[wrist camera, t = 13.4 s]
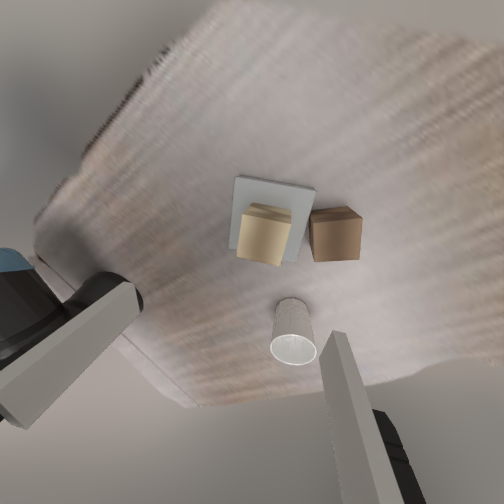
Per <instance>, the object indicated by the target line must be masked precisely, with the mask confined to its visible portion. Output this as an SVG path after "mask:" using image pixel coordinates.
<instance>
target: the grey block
mask: <svg viewBox="0 0 504 504" xmlns="http://www.w3.org/2000/svg"><path fill="white" fill-rule="evenodd" d="M316 192H317V191H316V190H315V189H314V188H311V187H305V186H299V185H293V184H288V183H282V182H276V181H271V180H265V179H259V178H254V177H248V176H242V175H240V176H236V177H235V184H234V195H233V205H232V216H231V226H230V237H229V247H228V248H229V249H234V250H237V249H238V242H239V234H240V227H241V220H242V214H243V213H244V211H245V210H246V209H247V208H248V207H249V206H250V205H251V203H252V202H253V203H258V204H263V205H268V206H273V207H278V208H283V209H288V210H291V228H290V231H289V235H288V239H287V242H286V246H285V250H284V253H283V257H282V260H285V261H289V262H294V263H295V262H296V259H297V255H298V252H299V249H300V245H301V242H302V239H303V235H304V232H305V229H306V225H307V222H308V218H309V215H310V212H311V208H312V205H313V202H314V198H315V195H316Z"/></svg>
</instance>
